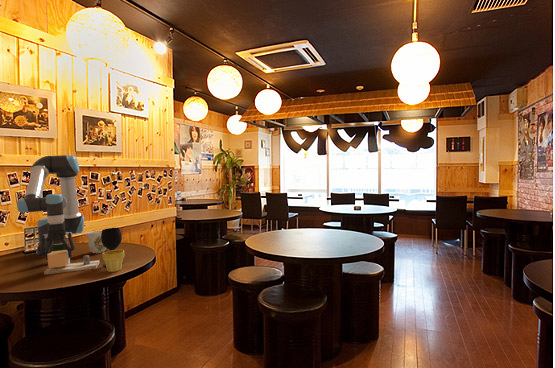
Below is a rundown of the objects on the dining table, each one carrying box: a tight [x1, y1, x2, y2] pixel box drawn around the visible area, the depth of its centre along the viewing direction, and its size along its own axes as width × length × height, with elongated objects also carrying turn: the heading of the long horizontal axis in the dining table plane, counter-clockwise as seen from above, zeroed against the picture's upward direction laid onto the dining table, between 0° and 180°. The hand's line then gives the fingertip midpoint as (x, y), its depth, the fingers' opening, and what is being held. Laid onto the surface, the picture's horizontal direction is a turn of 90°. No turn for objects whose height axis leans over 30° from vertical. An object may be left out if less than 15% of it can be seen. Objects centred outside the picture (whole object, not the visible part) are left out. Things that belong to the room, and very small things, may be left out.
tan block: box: [47, 250, 68, 268], centre depth 182 cm, size 8×8×7 cm
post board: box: [43, 254, 101, 276], centre depth 184 cm, size 12×24×6 cm, turn 109°
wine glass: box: [101, 227, 124, 268], centre depth 188 cm, size 10×10×20 cm
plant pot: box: [102, 249, 125, 273], centre depth 178 cm, size 10×10×10 cm
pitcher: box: [82, 230, 107, 254], centre depth 219 cm, size 11×18×14 cm, turn 137°
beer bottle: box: [52, 235, 69, 251], centre depth 200 cm, size 8×8×24 cm
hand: (59, 264), depth 182 cm, fingers closed on tan block, 8 cm apart
